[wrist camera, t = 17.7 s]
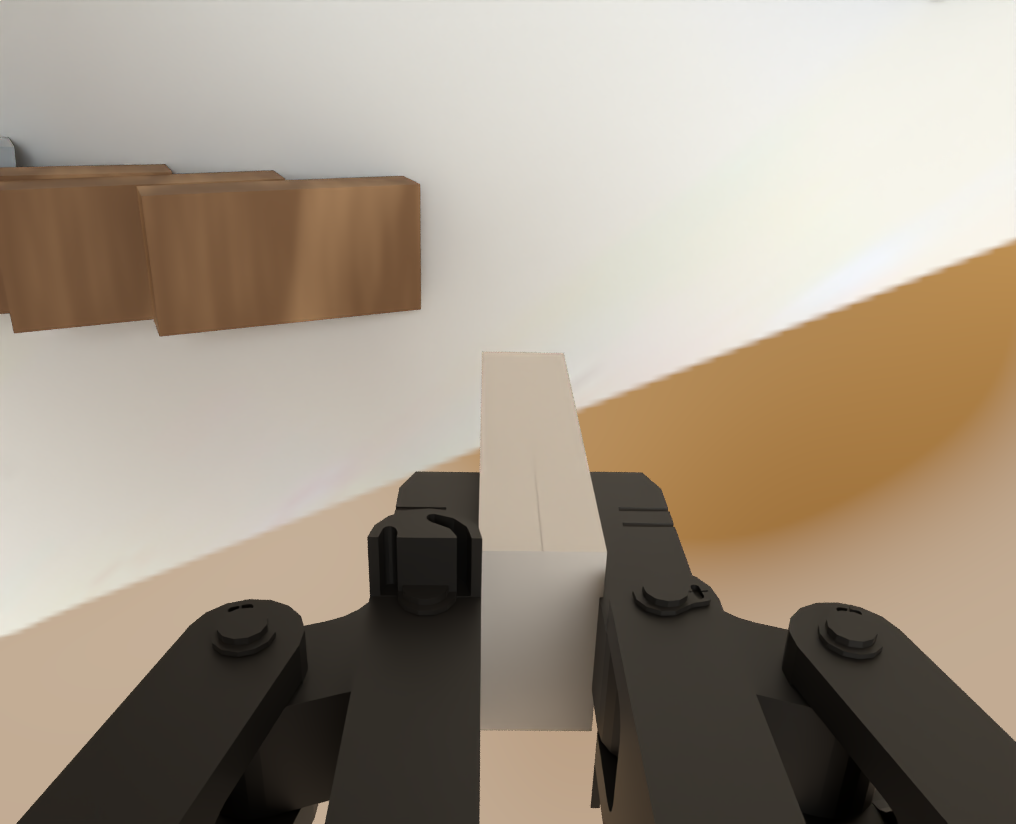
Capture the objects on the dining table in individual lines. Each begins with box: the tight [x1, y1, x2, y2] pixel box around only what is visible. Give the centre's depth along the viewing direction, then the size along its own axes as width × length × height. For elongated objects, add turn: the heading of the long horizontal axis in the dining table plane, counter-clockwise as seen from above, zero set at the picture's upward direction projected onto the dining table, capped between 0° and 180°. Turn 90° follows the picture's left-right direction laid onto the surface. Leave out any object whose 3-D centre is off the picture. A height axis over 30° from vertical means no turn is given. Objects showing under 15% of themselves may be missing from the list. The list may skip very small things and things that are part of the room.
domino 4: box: [0, 170, 285, 333], centre depth 33 cm, size 2×5×10 cm
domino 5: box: [136, 176, 421, 336], centre depth 34 cm, size 2×5×10 cm
